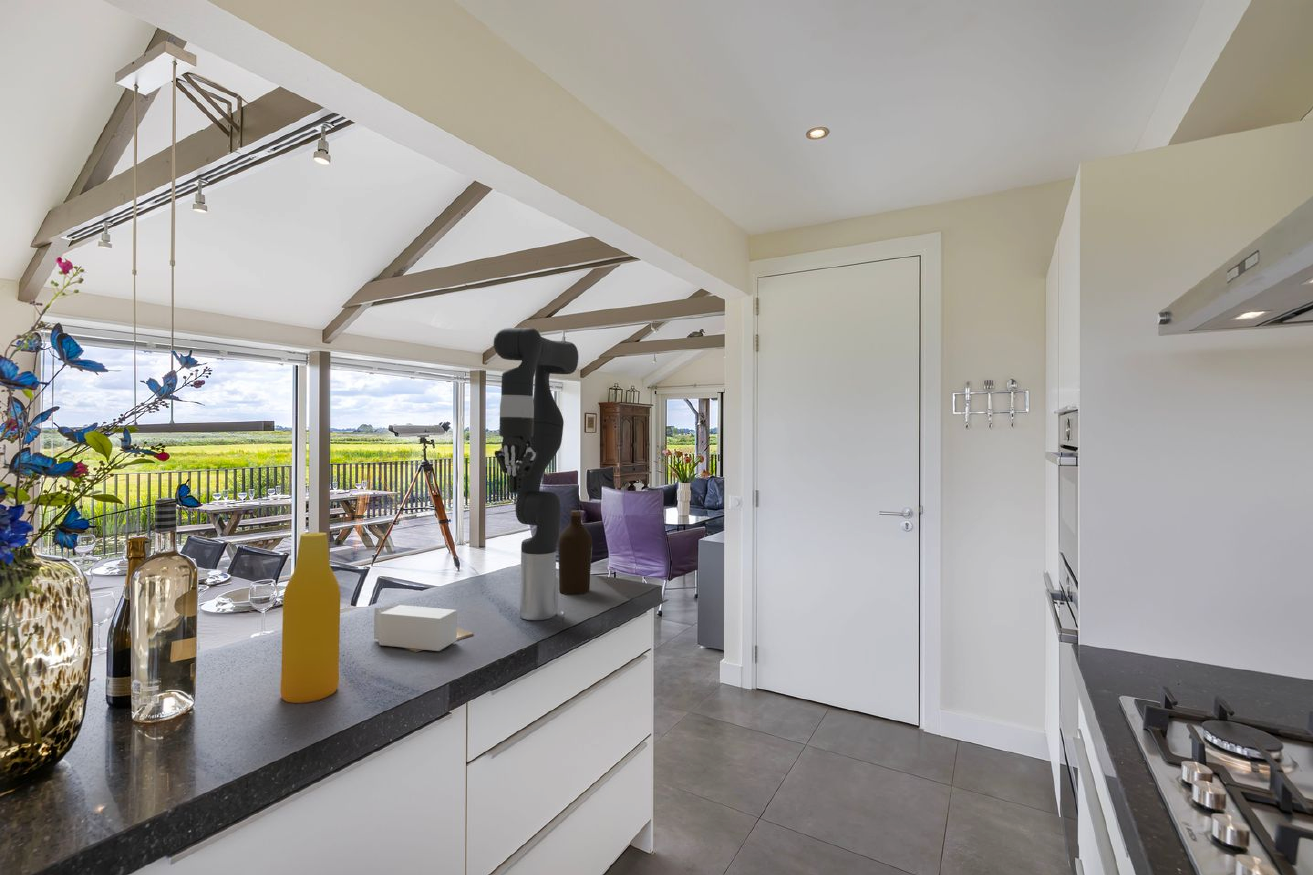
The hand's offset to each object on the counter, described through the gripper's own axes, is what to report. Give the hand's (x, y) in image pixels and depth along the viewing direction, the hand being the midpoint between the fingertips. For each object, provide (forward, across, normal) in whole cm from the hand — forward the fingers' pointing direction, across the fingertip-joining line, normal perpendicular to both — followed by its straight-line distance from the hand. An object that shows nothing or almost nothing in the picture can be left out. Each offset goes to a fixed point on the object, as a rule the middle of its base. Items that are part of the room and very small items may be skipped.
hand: (515, 492), depth 134 cm
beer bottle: (+35, +9, +39) cm, 53 cm away
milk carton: (+31, +10, +9) cm, 34 cm away
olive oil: (+35, +25, -45) cm, 62 cm away
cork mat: (+35, +20, +8) cm, 41 cm away
